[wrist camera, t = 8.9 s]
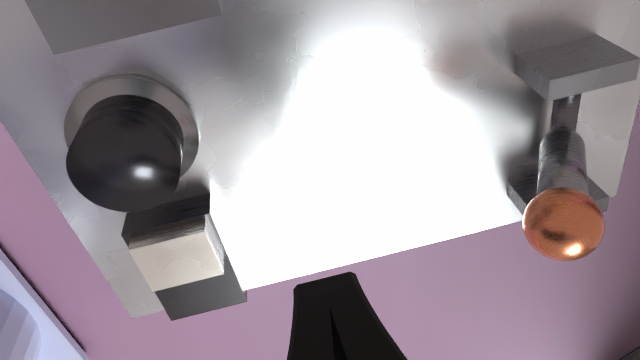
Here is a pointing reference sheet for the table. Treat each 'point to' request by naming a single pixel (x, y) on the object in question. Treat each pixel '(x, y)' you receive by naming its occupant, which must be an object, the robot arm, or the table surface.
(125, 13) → the slider grey
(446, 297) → the table surface
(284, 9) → the panel
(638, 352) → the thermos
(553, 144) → the toggle lever
